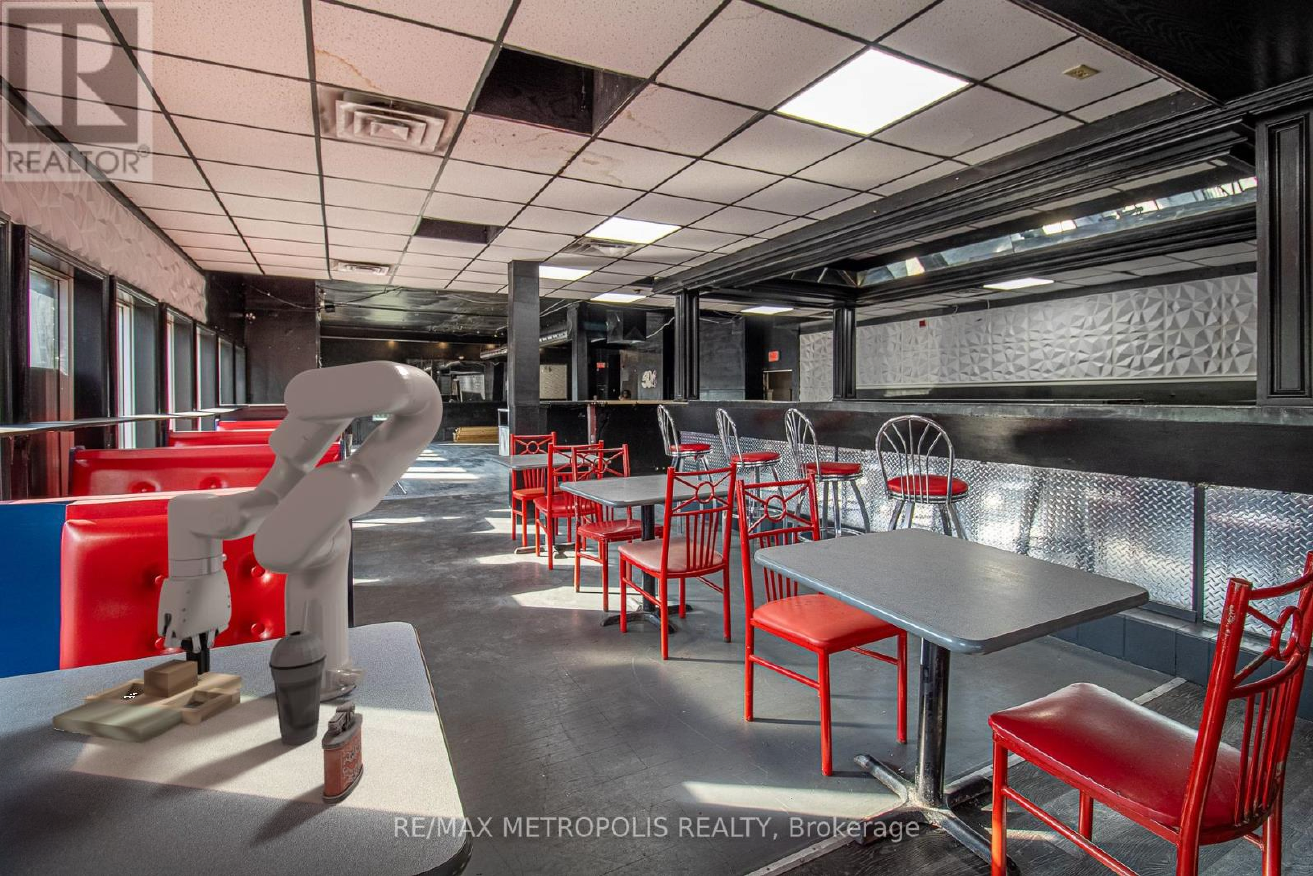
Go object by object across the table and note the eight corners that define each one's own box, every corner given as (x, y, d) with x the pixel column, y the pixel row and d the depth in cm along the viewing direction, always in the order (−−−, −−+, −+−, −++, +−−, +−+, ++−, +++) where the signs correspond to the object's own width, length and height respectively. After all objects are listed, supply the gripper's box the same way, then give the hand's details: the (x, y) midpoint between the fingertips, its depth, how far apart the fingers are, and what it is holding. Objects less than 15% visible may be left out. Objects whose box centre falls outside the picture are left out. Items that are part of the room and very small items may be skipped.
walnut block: (197, 685, 107) (197, 661, 107) (168, 698, 102) (167, 673, 102) (174, 682, 109) (173, 659, 108) (144, 695, 104) (143, 670, 104)
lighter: (342, 769, 85) (341, 694, 85) (369, 768, 85) (367, 693, 85) (316, 805, 77) (314, 723, 77) (345, 804, 77) (343, 722, 77)
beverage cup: (274, 731, 95) (271, 598, 95) (329, 722, 98) (326, 592, 98) (266, 755, 89) (263, 611, 88) (325, 744, 92) (323, 605, 91)
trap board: (265, 690, 110) (265, 678, 110) (155, 745, 92) (155, 731, 92) (164, 678, 115) (164, 667, 115) (40, 728, 97) (40, 715, 97)
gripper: (218, 556, 118) (220, 655, 118) (134, 575, 103) (136, 688, 104) (251, 558, 116) (253, 659, 116) (170, 578, 101) (172, 693, 102)
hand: (198, 672), depth 110 cm, fingers closed
